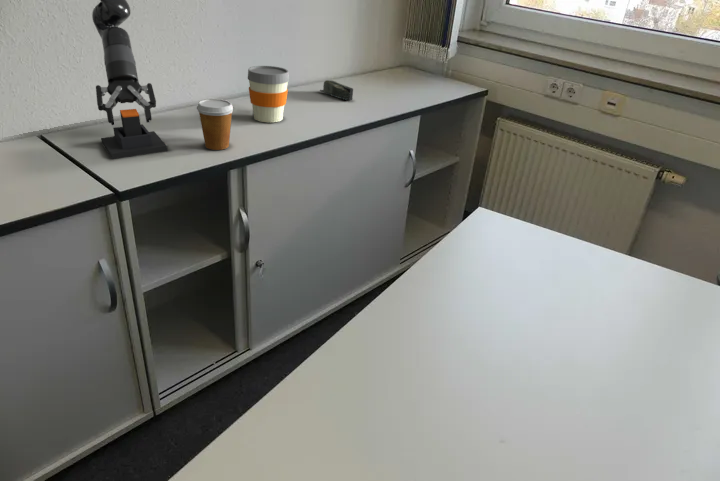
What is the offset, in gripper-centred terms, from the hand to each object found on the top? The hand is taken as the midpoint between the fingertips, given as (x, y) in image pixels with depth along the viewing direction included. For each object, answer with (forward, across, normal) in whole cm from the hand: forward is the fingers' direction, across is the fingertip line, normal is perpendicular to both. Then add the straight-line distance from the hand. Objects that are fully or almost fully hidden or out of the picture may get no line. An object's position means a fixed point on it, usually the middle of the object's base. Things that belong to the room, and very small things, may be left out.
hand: (130, 122), depth 141 cm
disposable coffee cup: (+8, -21, -2) cm, 23 cm away
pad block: (+3, 0, -4) cm, 6 cm away
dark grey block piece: (-19, -72, -29) cm, 80 cm away
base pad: (+5, 0, -5) cm, 7 cm away
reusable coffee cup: (-6, -41, -16) cm, 45 cm away
